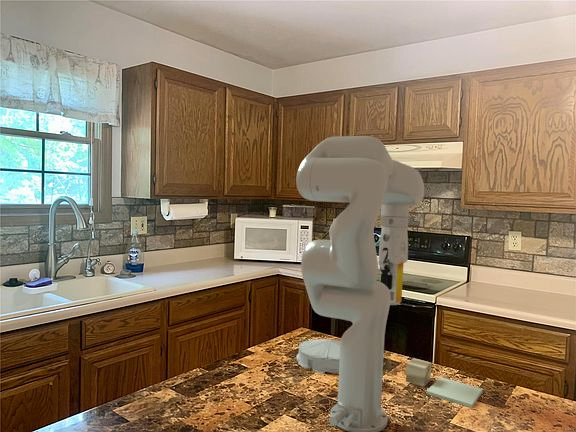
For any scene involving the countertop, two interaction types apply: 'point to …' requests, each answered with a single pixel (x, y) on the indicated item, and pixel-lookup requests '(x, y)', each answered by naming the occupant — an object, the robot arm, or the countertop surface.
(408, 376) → the maple block
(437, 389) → the sage mat
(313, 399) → the countertop surface
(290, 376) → the countertop surface
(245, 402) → the countertop surface
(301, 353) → the food container
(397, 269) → the beer can
